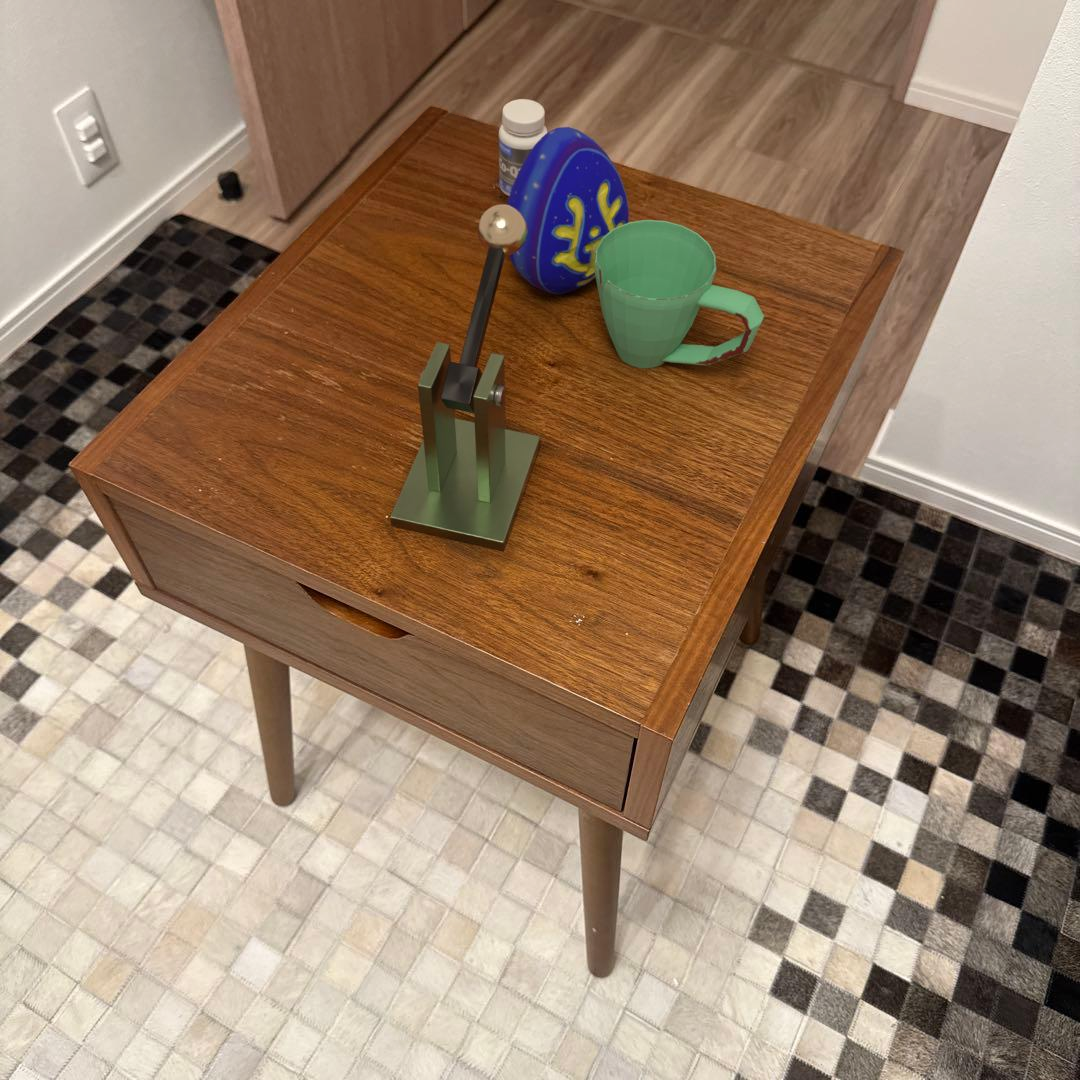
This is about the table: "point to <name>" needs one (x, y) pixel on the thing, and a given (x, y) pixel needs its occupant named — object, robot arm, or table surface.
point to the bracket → (466, 462)
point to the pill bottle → (518, 138)
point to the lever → (483, 302)
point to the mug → (665, 294)
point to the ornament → (565, 209)
